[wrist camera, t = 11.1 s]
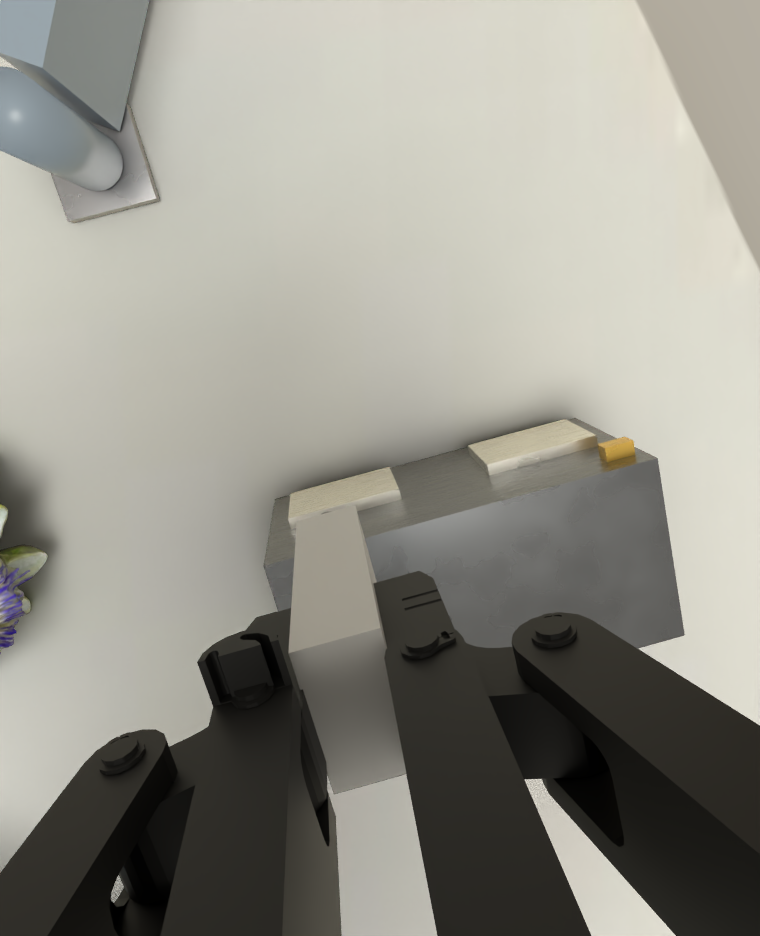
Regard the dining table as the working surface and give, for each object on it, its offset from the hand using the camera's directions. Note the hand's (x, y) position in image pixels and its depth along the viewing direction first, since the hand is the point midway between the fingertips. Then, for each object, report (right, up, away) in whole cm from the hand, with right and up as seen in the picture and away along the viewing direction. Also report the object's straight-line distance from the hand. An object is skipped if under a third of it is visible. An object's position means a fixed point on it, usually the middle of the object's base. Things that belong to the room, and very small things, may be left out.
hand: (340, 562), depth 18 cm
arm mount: (-11, +16, +14) cm, 24 cm away
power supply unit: (+4, -1, +20) cm, 20 cm away
